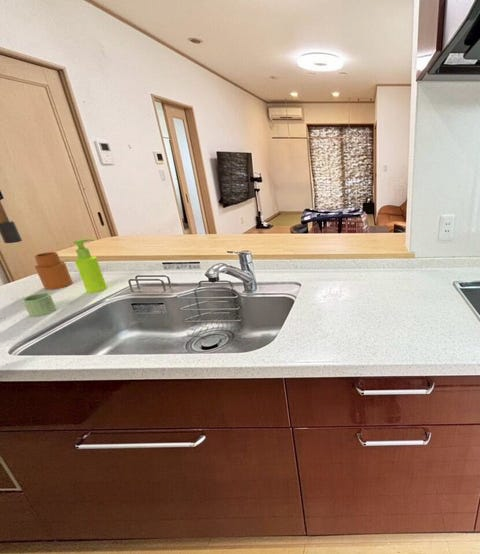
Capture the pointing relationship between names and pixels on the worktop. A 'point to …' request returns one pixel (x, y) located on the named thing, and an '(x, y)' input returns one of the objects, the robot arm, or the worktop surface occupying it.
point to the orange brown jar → (52, 271)
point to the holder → (39, 304)
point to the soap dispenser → (89, 268)
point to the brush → (8, 228)
